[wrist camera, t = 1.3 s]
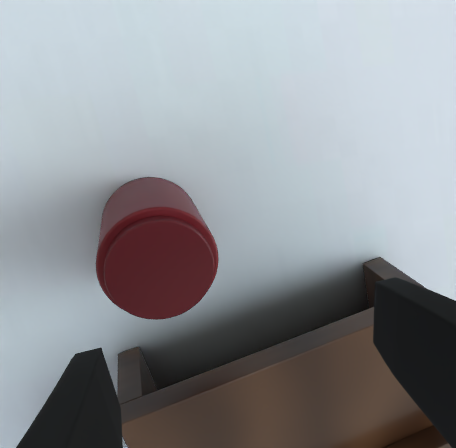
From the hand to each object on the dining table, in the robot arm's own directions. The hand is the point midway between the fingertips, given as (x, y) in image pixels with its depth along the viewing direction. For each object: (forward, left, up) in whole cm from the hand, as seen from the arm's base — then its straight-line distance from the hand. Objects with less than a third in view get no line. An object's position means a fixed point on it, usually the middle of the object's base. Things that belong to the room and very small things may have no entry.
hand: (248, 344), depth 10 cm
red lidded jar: (-2, 0, -11) cm, 11 cm away
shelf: (+2, -11, -11) cm, 15 cm away
